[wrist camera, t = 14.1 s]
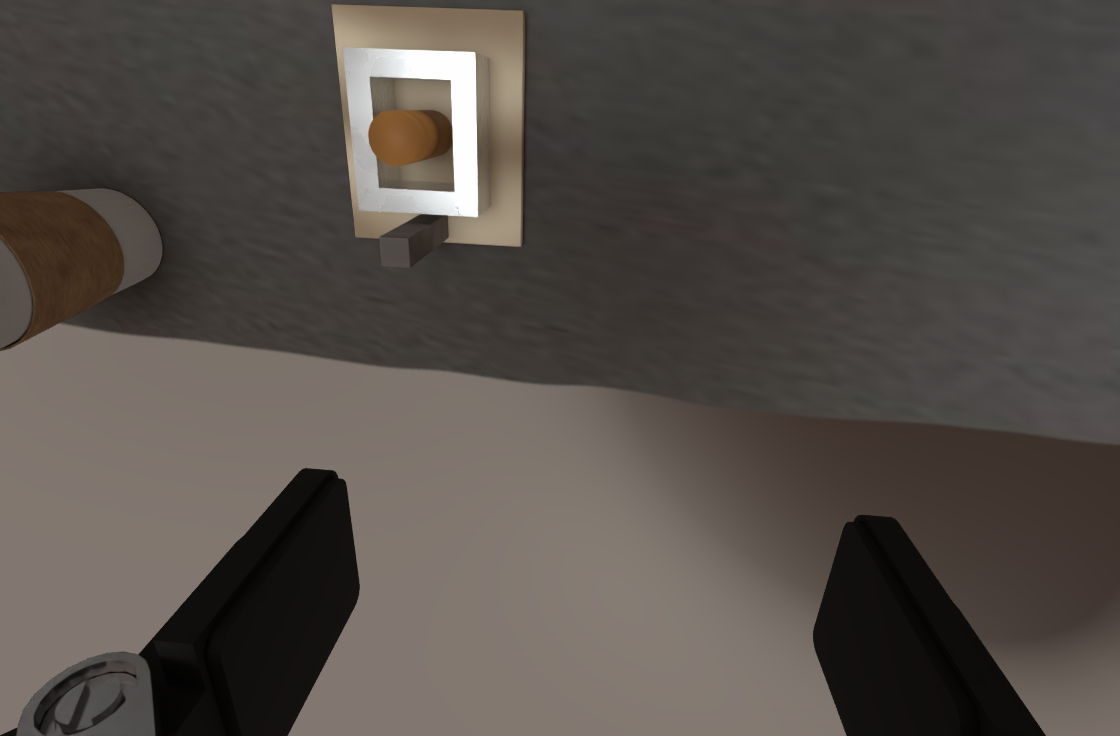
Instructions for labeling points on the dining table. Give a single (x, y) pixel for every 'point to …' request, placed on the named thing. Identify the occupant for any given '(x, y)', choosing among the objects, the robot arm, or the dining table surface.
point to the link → (470, 121)
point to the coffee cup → (68, 255)
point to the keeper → (439, 123)
